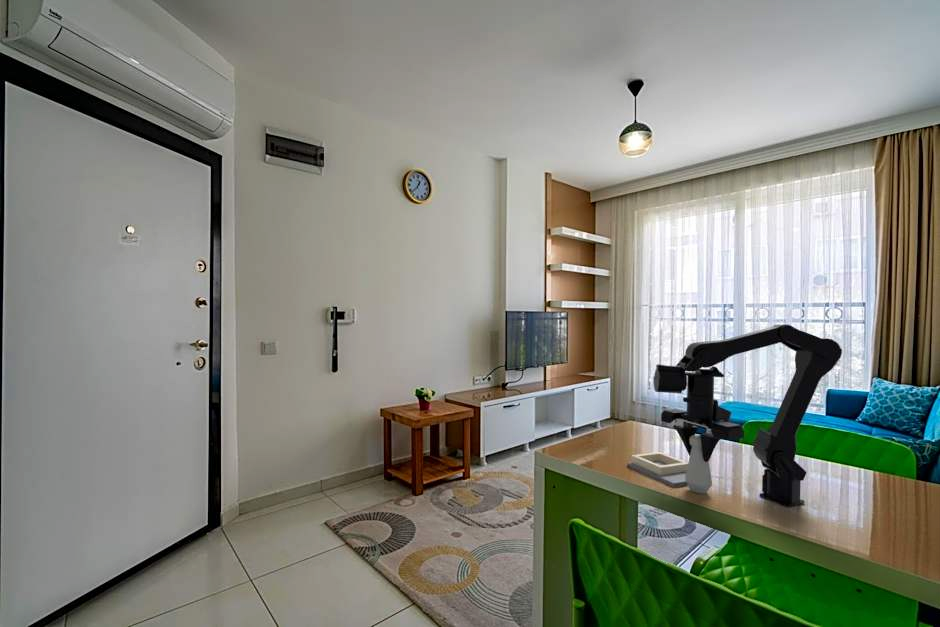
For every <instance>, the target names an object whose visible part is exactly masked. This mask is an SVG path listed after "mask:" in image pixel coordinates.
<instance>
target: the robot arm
mask: <svg viewBox="0 0 940 627" xmlns="http://www.w3.org/2000/svg"><path fill="white" fill-rule="evenodd" d="M776 344H782V345H783V346H785V347H787V348H788V349H790V350H793V351H794V352H795V356H794V362H795V363H794V364H795V371H794V375H793V377H792V378H791V380H790V384H789V385H788V388H787V391H786V393H785V395H784V397H783V399H782V402H781V405H780V407H779V409H778V411H777V413H776V416H775V418H774V419H773V422H772V424H771V426H769V427H768V428H767V429H765V430H764V429H762V428H759V429H757V433H756V437H755V439H754V440H752V442H751V444H753V447H752V448H753V449H752V450H753V453H754V455H755V457H756V458H757V459H758V460H759V461H760V462H761V466H762V467H764V468H765V469H764V470H763V471H764V472H763V475H762V481H761V484H762V485H761V491H762V492H760V493H759V497H760V498H761V497H762V498H764V499H766V500H769V501H770V502H771V501H772V502H775V503H776V504H779V505H781V506H785V507H787V508H789V507H792V506H797V505H802V504H805V503H806V502H805V500H803V499H801V482H802V481H804V479H805V477H806V475H807V471H806V470H805V469H804V468H803V467H802V466H801V465H800V464H799V463H797V461H796V460H795V459H796V453H797V449H798V448H797V441H796V440H797V438H796V435H797V432H798V430H799V428H800V426H801V423H802V421H803V419H804V416H805V414H806V412H807V410H808V408H809V406H810V403H811V402H812V399H813V396H814V395H815V392H816V390H817V389H818V388H817V387H818V385H819V383H820V381H821V379H822V378H823V377H824V376H826V375H827V374H828V373H829V372H830V371H832V370H833V369H834V367H835V366H836V364H837V363H838V362H839V360H840V359H841V356H842V354H843V349H842V348H841V346H840V344H839V343H838V342H837V341H835V340H833V339H832V338H825V337H819V336H817V335H813V334H811V333H809V332H805V331H803V330H800V329H798V328H796V327H794V326H792V325H790V324H785V323H783V324H781V323H780V324H774V325H772V326H770V327H767V328H763V329H759V330H756V331H753V332H749V333H745V334H744V333H743V334H741V335H740V334H739V335H737V336H733V337H729V338H726V339H721V340H709V341H706V340H705V341H696V342H693V343H689V345H687V347H686V349H685V354H684V355H683V357H682V358H681V359H680V360H679V361H678V362H677V364H675V365H664V364H661V363H659V364H656V368H655V371H654V375H653V388H654V391H655V393H667V394H682V392H684V391H685V390H687V391H686V396H684V397H682V402H683V403H686V411H684V410H681V409H664V410H663V411H662V412H661V414H660V421H661V422H663V423H665V424H666V423H667V424H672V423H673V422H675V424H673V425H672V428H673V429H675V430H676V432H677V434H678V436H679V437H680V439H681V441H682V443H683V446H684V447H685V450H686V451H687V452H686V453H687V454H688V456H689V457H690V453H691V448H692V445H690V442H689V439H690V437H691V436H692V435H696V433H697V432H698V430H699V428H702V429H705V430H706V431H705V432H704V433H700V434H699V435H700V438H701V445H702V453H703V458H704V461H705V462H708V461H709V462H710V460H711V457H712V455H713V452H714V450H715V448H716V446H717V444H718V443H719V441H720V440H726V441H729V440H731V441H732V440H739V439H740V440H741V439H744V438H745V430H744V429H745V428H743V426H742V425H741V424H738V423H732V422H730V419H731V416H732V411H731V410H727V409H726V408H723V407H721V406H719V401H718V399H716V398H715V393H714V390H715V378H724V377H725V374H724V373H722V372H721V371H720V370H719V368H718V367H717V366H715V365H718V364H720V363H722V362H724V361H725V360H727V359H728V358H730V357H733V356H735V355H738V354H739V355H740V354H742V353H746V352H749V351H750V352H751V351H754V350H757V349H758V350H759V349H761V348H765V347H771V346H772V345H773V346H774V345H776ZM708 368H709V369H708ZM714 398H715V399H714Z"/></svg>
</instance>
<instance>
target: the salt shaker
mask: <svg viewBox="0 0 940 627" xmlns="http://www.w3.org/2000/svg"><path fill="white" fill-rule="evenodd" d="M689 442H690V445H692V448H691V453H690V456H689V459H688V462H687V463H688V467H687V471H686V476H685V480H686V483H687V485H686V486H687V487H688V489H689V491H691V492H694V493H696V494H707V493H708V491H709V490H710V489H711V487H712V485H713V478H712V474H711V467H710V463H709V462H710V460H709V461H708V462H705V461H704V458H703V453H702V445H701V438H700V434H699V435H697V434H695V435H692V436H691V437H690V439H689Z"/></svg>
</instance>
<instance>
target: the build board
mask: <svg viewBox="0 0 940 627" xmlns="http://www.w3.org/2000/svg"><path fill="white" fill-rule="evenodd" d="M626 466H627V467H628V466H629V467H628V468H630V467H631V468H630V469H632V468H633V470H634V469H635V470H634V471H636V472H639V473H641V474H643V475H645V476H648V477H650V478H652V479H654V480H656V481H658V482H660V483H663V484H666V485H668V486H670V487H672V488H679V487H683V486H688V485H687V483H686V480H685V476H686V471H687V467H688V462H687V461H684V460H681V459H679V458H676V457H673V456H671V455H668V454H666V453H663V452H660V451H658V452H657V451H656V452H649V453H641V454H632V455H631V461H630V462H627V464H626Z"/></svg>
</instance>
